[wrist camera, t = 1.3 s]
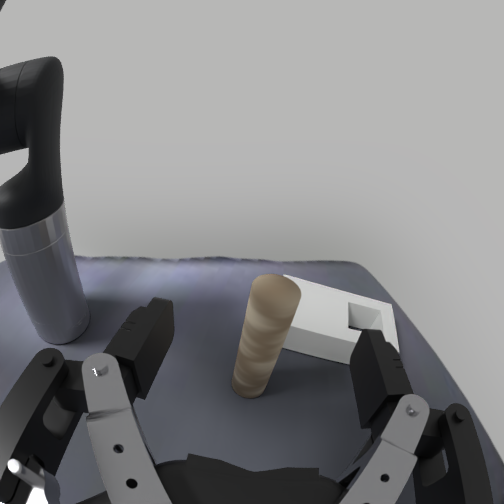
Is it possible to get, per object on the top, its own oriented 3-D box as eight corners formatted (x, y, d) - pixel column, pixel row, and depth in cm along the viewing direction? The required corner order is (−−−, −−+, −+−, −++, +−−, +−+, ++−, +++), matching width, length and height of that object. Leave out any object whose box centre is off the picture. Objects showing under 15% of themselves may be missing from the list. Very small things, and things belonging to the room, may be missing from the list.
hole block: (262, 341, 35) (269, 319, 33) (277, 296, 43) (284, 274, 41) (383, 371, 33) (399, 352, 30) (379, 323, 41) (391, 304, 38)
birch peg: (226, 391, 28) (245, 298, 20) (237, 366, 31) (258, 268, 23) (260, 402, 27) (297, 313, 19) (268, 375, 31) (304, 282, 23)
